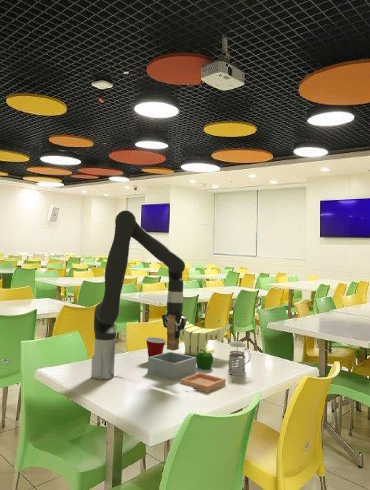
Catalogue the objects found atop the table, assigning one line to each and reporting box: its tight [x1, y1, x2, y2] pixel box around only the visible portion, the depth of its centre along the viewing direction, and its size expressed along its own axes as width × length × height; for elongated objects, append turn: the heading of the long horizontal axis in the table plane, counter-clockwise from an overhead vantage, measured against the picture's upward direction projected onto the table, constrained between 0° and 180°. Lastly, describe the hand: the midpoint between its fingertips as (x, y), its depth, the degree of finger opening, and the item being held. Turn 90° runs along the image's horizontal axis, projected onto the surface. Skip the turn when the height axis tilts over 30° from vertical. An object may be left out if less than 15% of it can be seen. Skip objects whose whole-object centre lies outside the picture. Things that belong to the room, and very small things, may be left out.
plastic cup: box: [145, 336, 167, 357], centre depth 211 cm, size 11×11×12 cm
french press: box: [226, 320, 252, 376], centre depth 197 cm, size 10×12×25 cm
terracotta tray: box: [180, 372, 227, 393], centre depth 176 cm, size 14×14×2 cm
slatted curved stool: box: [180, 320, 231, 357], centre depth 232 cm, size 30×16×18 cm, turn 65°
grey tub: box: [147, 351, 197, 381], centre depth 190 cm, size 16×16×8 cm
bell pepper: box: [195, 349, 214, 371], centre depth 200 cm, size 8×8×10 cm
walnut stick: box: [166, 314, 180, 352], centre depth 190 cm, size 4×4×16 cm
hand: (173, 337), depth 190 cm, fingers closed on walnut stick, 4 cm apart
